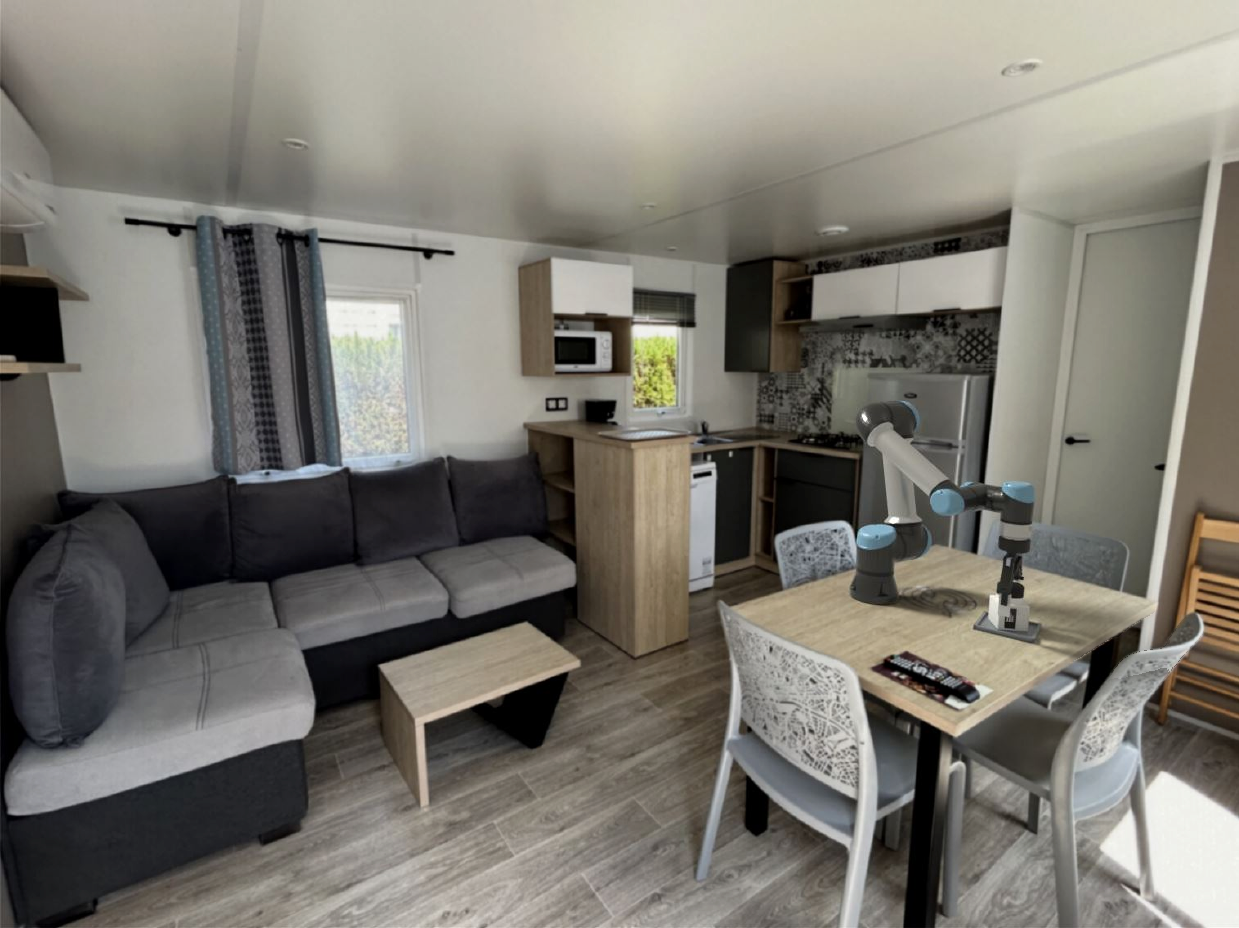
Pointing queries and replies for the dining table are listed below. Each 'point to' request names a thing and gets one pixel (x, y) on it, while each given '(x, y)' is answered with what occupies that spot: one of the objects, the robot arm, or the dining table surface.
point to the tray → (988, 627)
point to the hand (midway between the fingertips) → (1008, 608)
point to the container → (1017, 610)
